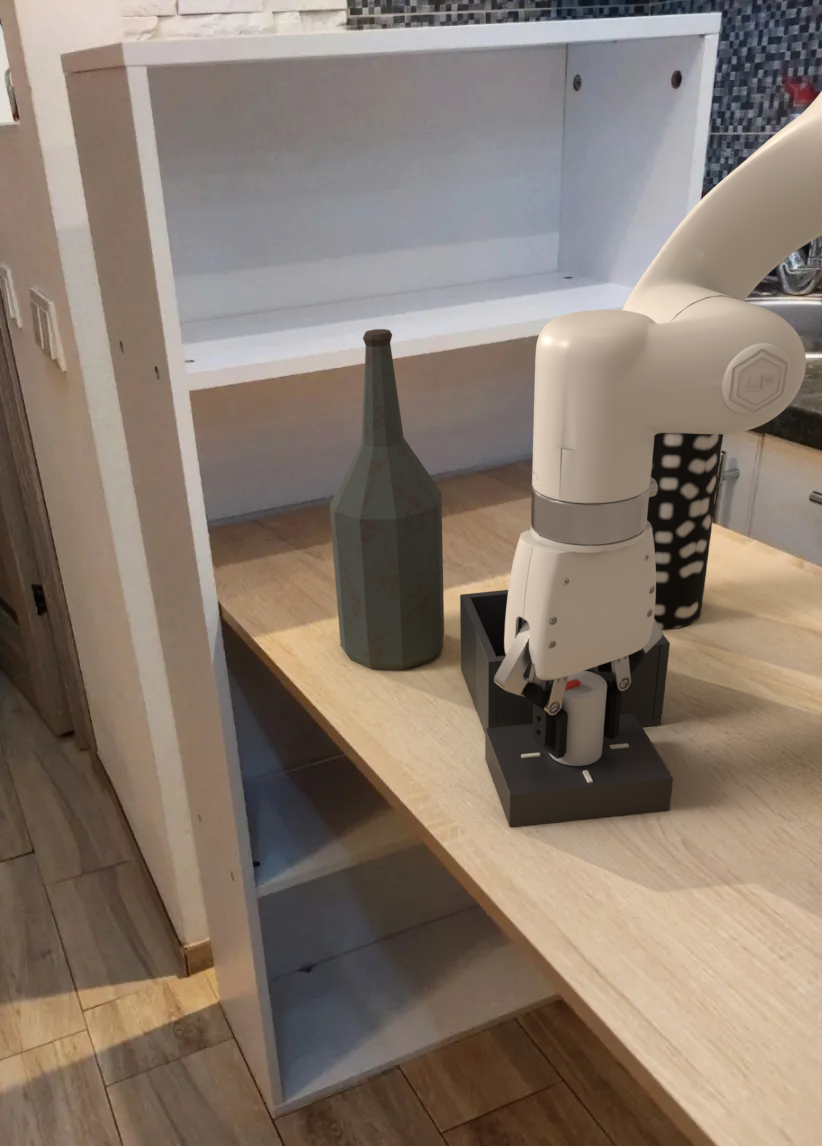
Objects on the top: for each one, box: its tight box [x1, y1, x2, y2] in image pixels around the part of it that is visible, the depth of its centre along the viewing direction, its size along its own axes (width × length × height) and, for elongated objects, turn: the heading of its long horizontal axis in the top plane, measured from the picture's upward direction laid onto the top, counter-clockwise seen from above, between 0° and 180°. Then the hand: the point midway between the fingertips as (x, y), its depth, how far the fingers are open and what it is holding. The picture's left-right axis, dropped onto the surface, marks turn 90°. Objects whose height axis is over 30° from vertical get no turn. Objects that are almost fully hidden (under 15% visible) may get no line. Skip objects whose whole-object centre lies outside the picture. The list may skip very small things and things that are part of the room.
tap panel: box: [484, 713, 674, 828], centre depth 79 cm, size 12×9×3 cm
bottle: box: [329, 328, 445, 671], centre depth 93 cm, size 10×10×30 cm
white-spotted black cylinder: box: [647, 433, 724, 630], centre depth 98 cm, size 8×8×20 cm
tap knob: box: [549, 671, 607, 766], centre depth 77 cm, size 4×4×6 cm
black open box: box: [459, 589, 671, 734], centre depth 89 cm, size 15×13×8 cm
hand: (575, 737), depth 78 cm, fingers closed on tap knob, 4 cm apart
